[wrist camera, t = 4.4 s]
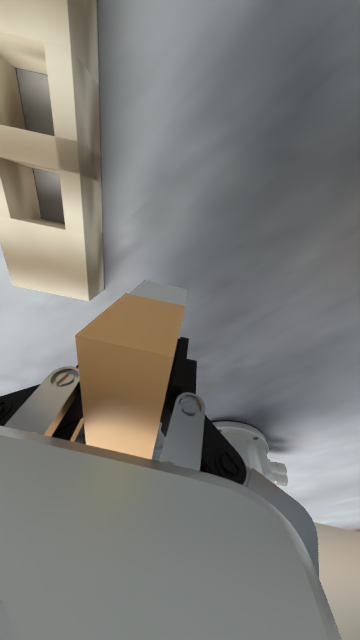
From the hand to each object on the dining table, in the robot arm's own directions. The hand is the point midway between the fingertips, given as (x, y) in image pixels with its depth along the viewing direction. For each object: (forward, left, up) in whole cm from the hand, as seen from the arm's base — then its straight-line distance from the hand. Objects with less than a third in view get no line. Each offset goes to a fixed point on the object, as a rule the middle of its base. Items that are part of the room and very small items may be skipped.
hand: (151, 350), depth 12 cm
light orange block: (0, 0, -2) cm, 3 cm away
